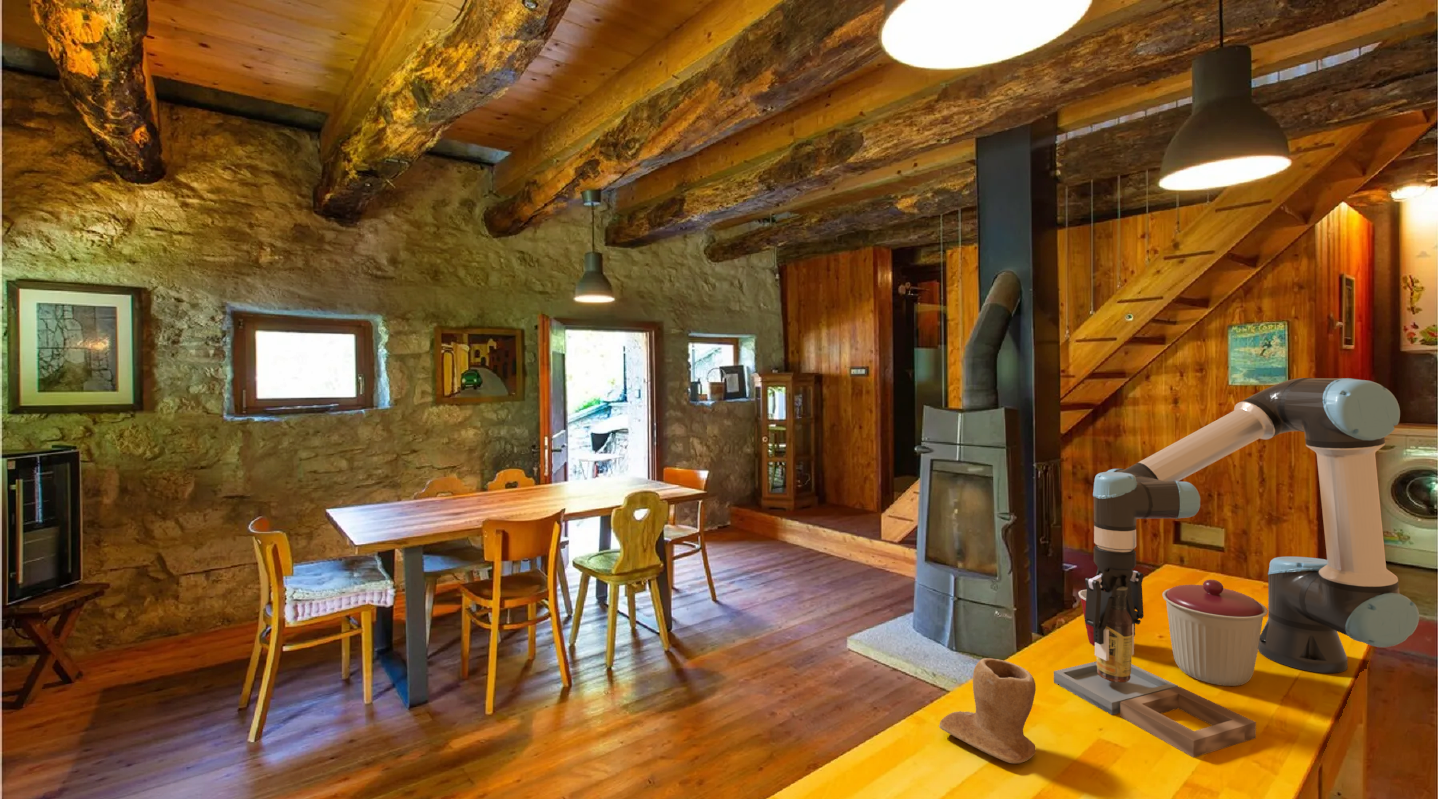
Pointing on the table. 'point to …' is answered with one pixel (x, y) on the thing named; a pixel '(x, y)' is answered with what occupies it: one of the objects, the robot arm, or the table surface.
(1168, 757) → the table surface
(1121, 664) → the sauce bottle
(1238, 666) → the canister
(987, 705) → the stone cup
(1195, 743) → the bottle stand
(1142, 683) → the tray
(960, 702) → the table surface
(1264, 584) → the table surface
